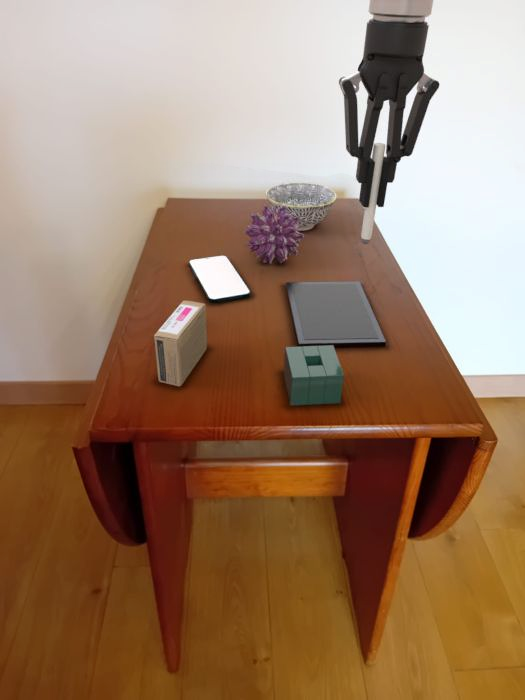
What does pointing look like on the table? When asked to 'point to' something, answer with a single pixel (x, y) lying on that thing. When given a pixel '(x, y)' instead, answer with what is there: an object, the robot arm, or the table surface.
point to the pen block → (313, 375)
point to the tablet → (333, 315)
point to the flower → (274, 234)
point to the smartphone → (219, 279)
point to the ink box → (181, 342)
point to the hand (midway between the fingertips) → (371, 203)
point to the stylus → (373, 193)
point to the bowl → (302, 201)
